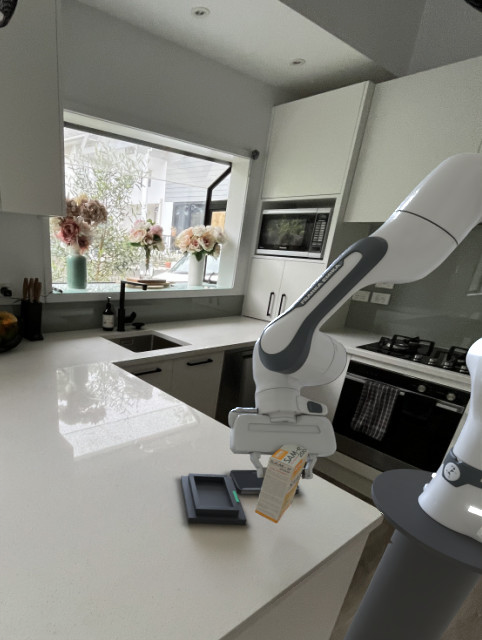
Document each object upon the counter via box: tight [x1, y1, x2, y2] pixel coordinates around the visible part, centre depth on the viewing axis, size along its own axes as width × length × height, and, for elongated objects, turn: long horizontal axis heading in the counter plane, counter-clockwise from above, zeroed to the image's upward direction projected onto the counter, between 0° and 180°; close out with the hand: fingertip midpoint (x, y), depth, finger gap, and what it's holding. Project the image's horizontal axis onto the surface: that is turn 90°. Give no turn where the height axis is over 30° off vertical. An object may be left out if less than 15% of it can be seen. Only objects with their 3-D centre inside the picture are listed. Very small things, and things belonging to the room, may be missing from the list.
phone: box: [228, 469, 300, 495], centre depth 90 cm, size 8×1×15 cm
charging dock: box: [180, 472, 248, 526], centre depth 83 cm, size 12×14×3 cm
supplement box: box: [254, 444, 309, 524], centre depth 72 cm, size 8×5×13 cm, turn 141°
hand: (285, 478), depth 72 cm, fingers closed on supplement box, 7 cm apart
